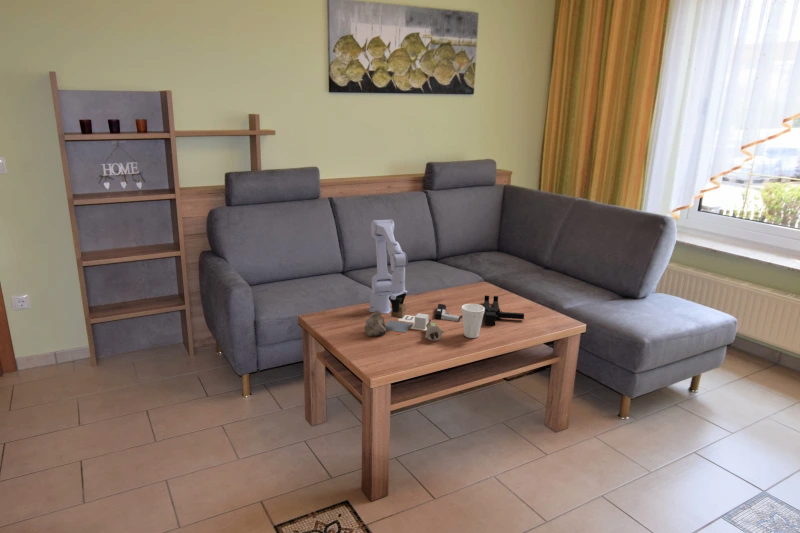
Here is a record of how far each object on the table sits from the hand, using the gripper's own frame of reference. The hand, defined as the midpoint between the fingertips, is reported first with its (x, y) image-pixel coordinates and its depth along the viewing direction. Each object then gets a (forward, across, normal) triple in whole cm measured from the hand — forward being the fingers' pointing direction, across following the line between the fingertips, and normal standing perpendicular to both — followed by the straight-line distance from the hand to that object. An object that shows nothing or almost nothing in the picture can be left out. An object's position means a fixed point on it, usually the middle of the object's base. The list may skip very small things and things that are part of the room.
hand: (397, 309), depth 248 cm
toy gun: (+9, +23, -18) cm, 30 cm away
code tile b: (+8, +4, -10) cm, 13 cm away
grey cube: (+8, +4, -10) cm, 13 cm away
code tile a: (+8, +11, -2) cm, 14 cm away
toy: (+9, +32, -38) cm, 50 cm away
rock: (+8, -11, +7) cm, 16 cm away
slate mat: (+8, 0, 0) cm, 8 cm away
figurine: (+8, -4, -18) cm, 20 cm away
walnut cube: (+3, 0, 0) cm, 3 cm away
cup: (+8, +2, -33) cm, 34 cm away
